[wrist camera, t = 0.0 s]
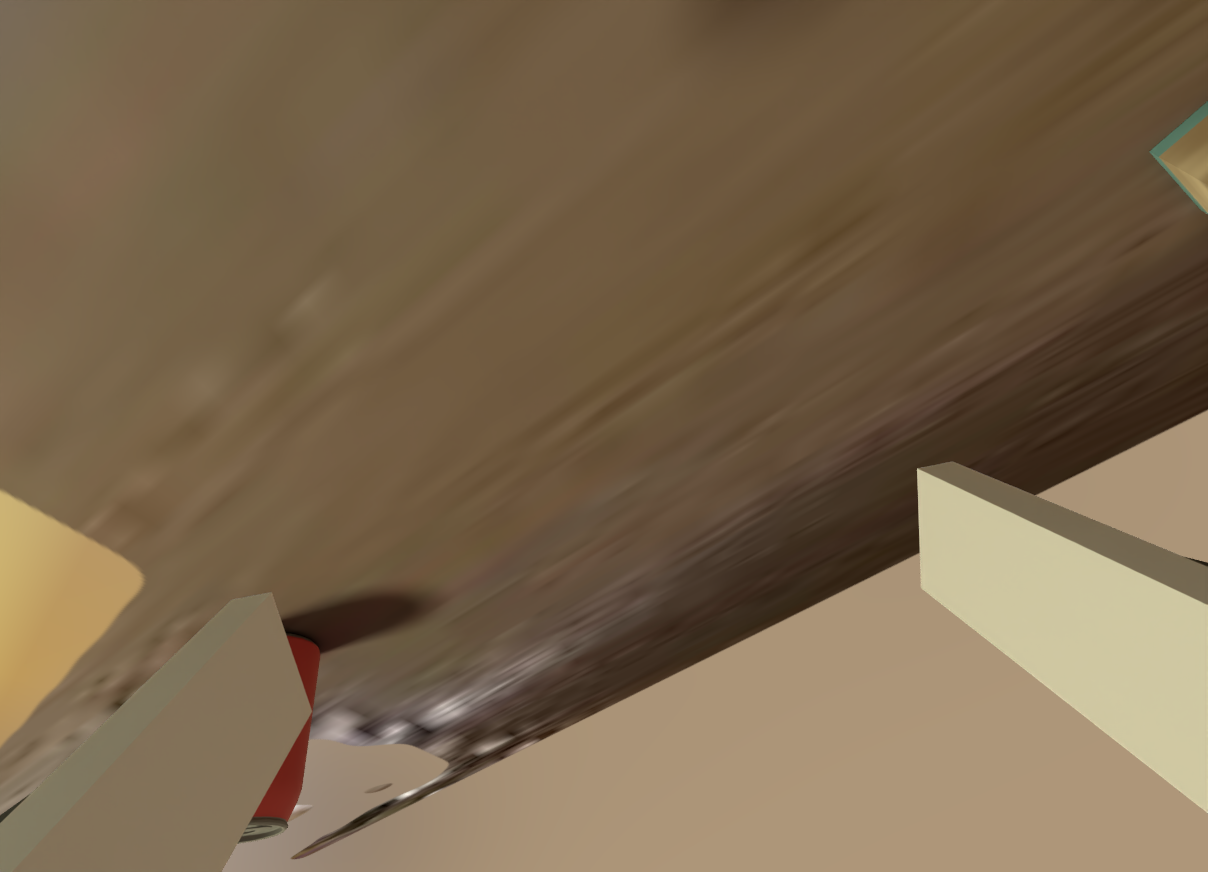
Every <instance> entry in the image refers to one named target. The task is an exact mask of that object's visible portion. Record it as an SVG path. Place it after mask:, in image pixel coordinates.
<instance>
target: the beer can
mask: <svg viewBox="0 0 1208 872" xmlns="http://www.w3.org/2000/svg"><path fill="white" fill-rule="evenodd" d="M286 636H287V639H288V642H289V645H290V648H291V651H292V654H293V657H294V659H295V662H296V665H297V668H298V671H299V674H300V677H301V680H302V683H303V686H304V689H305V692H306V695H307V698H308V701H309V704H310V707H311V709H312V712H313V704H314V697H315V690H316V683H317V676H318V668H319V661H320V651H319V648H318V646H317V645H316V644H315V643H314V642H312V641H311V640H310V639H308V638H305V637H303V636H300V635H296V634H291V633H286ZM311 719H312V713H311V714H310V716H309V718H308V720H307V721H306V723H305V725H304V727H303V728H302V730H301V732H300V734H299V736H298V737H297V739H296V741H295V743H294V744H293V746H292V748H291V750H290V751H289V753H288V755H287V757H286V759H285V760H284V762H283V764H282V766H281V767H280V769H279V771H278V773H277V774H276V776H275V778H274V780H273V781H272V783H271V785H270V787H269V789H268V790H267V792H266V794H265V796H264V797H263V799H262V801H261V803H260V804H259V806H258V808H257V810H256V812H255V813H254V815H253V817H252V819H251V820H250V822H249V824H248V826H247V827H246V829H245V831H244V833H243V835H242V836H241V838H240V840H239V842H238V843H237V844H239V843H245V842H252V841H256V840H262V839H266V838H269V837H273V836H276V835H278V834H280V833H283V832H284V831H285V830H286V829H287V828H288V824H287V821H288V819H289V817H290V815H291V813H292V811H293V809H294V807H295V805H296V803H297V801H298V798H299V795H300V792H301V790H302V784H303V777H304V769H305V762H306V754H307V748H308V741H309V733H310V726H311Z"/></svg>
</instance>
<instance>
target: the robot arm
mask: <svg viewBox="0 0 1208 872" xmlns="http://www.w3.org/2000/svg"><path fill="white" fill-rule="evenodd" d="M917 477H918V508H919V539H920V568H921V569H920V570H921V588H922V589H923V590H924V591H926V592H927V593H928V594H929V595H931V596H932V597H933V598H934V599H936V600H937V601H938V602H940V603H941V604H942V605H943V606H945V607H946V608H947V609H948V610H950V611H951V612H952V613H954V614H955V615H956V616H957V617H959V618H960V619H961V620H963V621H964V622H965V623H966V624H968V625H969V626H970V627H971V628H973V629H974V630H975V631H977V632H978V633H979V634H980V635H982V636H983V637H984V638H985V639H987V640H988V641H989V642H990V643H992V644H993V645H994V646H996V647H997V648H998V649H1000V650H1001V651H1002V652H1003V653H1004V654H1006V655H1007V656H1008V657H1010V658H1011V659H1012V660H1013V661H1015V662H1016V663H1017V664H1019V665H1020V666H1021V667H1022V668H1024V669H1025V670H1026V671H1028V672H1029V673H1030V674H1031V675H1033V676H1034V677H1035V678H1036V679H1038V680H1039V681H1040V682H1041V683H1043V684H1044V685H1045V686H1046V687H1048V688H1049V689H1050V690H1052V691H1053V692H1054V693H1055V694H1057V695H1058V696H1059V697H1060V698H1062V699H1063V700H1064V701H1066V702H1067V703H1068V704H1070V705H1071V706H1072V707H1073V708H1075V709H1076V710H1077V711H1078V712H1080V713H1081V714H1082V715H1083V716H1085V717H1086V718H1087V719H1089V720H1090V721H1091V722H1092V723H1094V724H1095V725H1096V726H1098V727H1099V728H1100V729H1101V730H1103V731H1104V732H1105V733H1106V734H1108V735H1109V736H1110V737H1111V738H1113V739H1114V740H1115V741H1117V742H1118V743H1119V744H1120V745H1122V746H1123V747H1124V748H1125V749H1127V750H1128V751H1129V752H1131V753H1132V754H1133V755H1134V756H1136V757H1137V758H1138V759H1140V760H1141V761H1142V762H1143V763H1145V764H1146V765H1147V766H1148V767H1150V768H1151V769H1152V770H1153V771H1155V772H1156V773H1157V774H1159V775H1160V776H1161V777H1162V778H1164V779H1165V780H1166V781H1167V782H1169V783H1170V784H1171V785H1172V786H1174V787H1175V788H1176V789H1178V790H1179V791H1180V792H1182V793H1183V794H1184V795H1185V796H1187V797H1188V798H1189V799H1190V800H1192V801H1193V802H1194V803H1196V804H1197V805H1198V806H1199V807H1201V808H1202V809H1203V810H1204V811H1206V812H1207V813H1208V563H1207V562H1203V561H1199V560H1195V559H1191V558H1187V557H1183V556H1180V555H1178V554H1175V553H1173V552H1171V551H1168V550H1166V549H1163V548H1161V547H1158V546H1156V545H1154V544H1151V543H1148V542H1146V541H1144V540H1141V539H1139V538H1137V537H1134V536H1132V535H1129V534H1127V533H1124V532H1122V531H1120V530H1117V529H1115V528H1112V527H1110V526H1107V525H1105V524H1102V523H1100V522H1098V521H1095V520H1093V519H1090V518H1088V517H1086V516H1083V515H1081V514H1078V513H1076V512H1074V511H1071V510H1069V509H1066V508H1064V507H1061V506H1059V505H1057V504H1054V503H1052V502H1049V501H1047V500H1044V499H1042V498H1039V497H1037V496H1035V495H1032V494H1030V493H1027V492H1025V491H1023V490H1020V489H1018V488H1015V487H1013V486H1010V485H1008V484H1006V483H1003V482H1001V481H998V480H996V479H993V478H991V477H989V476H986V475H984V474H981V473H979V472H976V471H974V470H972V469H969V468H967V467H964V466H962V465H959V464H957V463H955V462H948V463H943V464H938V465H933V466H928V467H922V468H917ZM311 713H312V709H311V707H310V704H309V701H308V698H307V695H306V692H305V689H304V686H303V683H302V680H301V677H300V674H299V671H298V668H297V665H296V662H295V659H294V657H293V654H292V651H291V648H290V645H289V642H288V639H287V636H286V633H285V630H284V627H283V624H282V621H281V618H280V615H279V612H278V609H277V607H276V604H275V601H274V598H273V595H272V592H270V593H265V594H260V595H254V596H249V597H244V598H239V599H233V600H231V601H230V602H229V603H228V604H227V605H226V606H225V607H224V608H223V609H222V610H221V611H220V612H218V613H217V614H216V615H215V616H214V617H213V618H212V619H211V620H210V621H209V622H208V623H207V624H206V625H205V626H204V627H203V628H202V629H201V630H200V631H199V632H198V633H197V634H196V635H195V636H194V637H193V638H192V639H191V640H189V641H188V642H187V643H186V644H185V645H184V646H183V647H182V648H181V649H180V650H179V651H178V652H177V653H176V654H175V655H174V656H173V657H172V658H171V659H170V660H169V661H168V662H167V663H166V664H165V665H164V666H163V667H161V668H160V669H159V670H158V671H157V672H156V673H155V674H154V675H153V676H152V677H151V678H150V679H149V680H148V681H147V682H146V683H145V684H144V685H143V686H142V687H141V688H140V689H139V690H138V691H137V692H136V693H135V694H134V695H132V696H131V697H130V698H129V699H128V700H127V701H126V702H125V703H124V704H123V705H122V706H121V707H120V708H119V709H118V710H117V711H116V712H115V713H114V714H113V715H112V716H111V717H110V718H109V719H108V720H107V721H106V722H104V723H103V724H102V725H101V726H100V727H99V728H98V729H97V730H96V731H95V732H94V733H93V734H92V735H91V736H90V737H89V738H88V739H87V740H86V741H85V742H84V743H83V744H82V745H81V746H80V747H79V748H78V749H77V750H75V751H74V752H73V753H72V754H71V755H70V756H69V757H68V758H67V759H66V760H65V761H64V762H63V763H62V764H61V765H60V766H59V767H58V768H57V769H56V770H55V771H54V772H53V773H52V774H51V775H50V776H49V777H47V778H46V779H45V780H44V781H43V782H42V783H41V784H40V785H39V786H38V787H37V788H36V789H35V790H34V791H33V792H32V793H31V794H30V795H28V796H27V797H25V798H24V799H23V800H21V801H20V802H18V803H17V804H16V805H14V806H13V807H11V808H10V809H9V810H7V811H6V812H4V813H3V814H2V815H0V872H222V870H223V868H224V866H225V865H226V863H227V861H228V859H229V858H230V856H231V854H232V852H233V850H234V849H235V847H236V845H237V843H238V842H239V840H240V838H241V836H242V835H243V833H244V831H245V829H246V827H247V826H248V824H249V822H250V820H251V819H252V817H253V815H254V813H255V812H256V810H257V808H258V806H259V804H260V803H261V801H262V799H263V797H264V796H265V794H266V792H267V790H268V789H269V787H270V785H271V783H272V781H273V780H274V778H275V776H276V774H277V773H278V771H279V769H280V767H281V766H282V764H283V762H284V760H285V759H286V757H287V755H288V753H289V751H290V750H291V748H292V746H293V744H294V743H295V741H296V739H297V737H298V736H299V734H300V732H301V730H302V728H303V727H304V725H305V723H306V721H307V720H308V718H309V716H310V714H311Z"/></svg>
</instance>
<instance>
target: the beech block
mask: <svg viewBox="0 0 1208 872" xmlns="http://www.w3.org/2000/svg"><path fill="white" fill-rule="evenodd" d="M1150 153H1151V154H1152V155H1153V156H1154V157H1155V159H1156V160H1157V161H1158V162H1159V163H1160V164H1161V165H1162V167H1163V168H1164V169H1165V170H1166V171H1167V172H1168V173H1169V174H1170V176H1171V177H1172V178H1173V179H1174V180H1175V181H1176V182H1177V184H1178V185H1179V186H1180V187H1181V188H1182V189H1183V190H1184V192H1185V193H1186V194H1187V195H1188V196H1189V197H1190V198H1191V199H1192V201H1193V202H1194V203H1195V204H1196V205H1197V206H1198V207H1199V209H1200V210H1202V211H1203V212H1205V213H1207V214H1208V101H1207V102H1206V103H1205V104H1204V105H1203V106H1202V107H1200V108H1199V109H1198V110H1197V111H1196V112H1195V113H1194V114H1192V115H1191V116H1190V117H1189V118H1188V119H1187V120H1185V121H1184V122H1183V123H1182V124H1181V125H1180V126H1178V127H1177V128H1176V129H1175V130H1174V131H1173V132H1172V133H1170V134H1169V135H1168V136H1167V137H1166V138H1165V139H1163V140H1162V141H1161V142H1160V143H1159V144H1158V145H1156V146H1155V147H1154V148H1153V149H1152V150H1151V151H1150Z"/></svg>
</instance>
